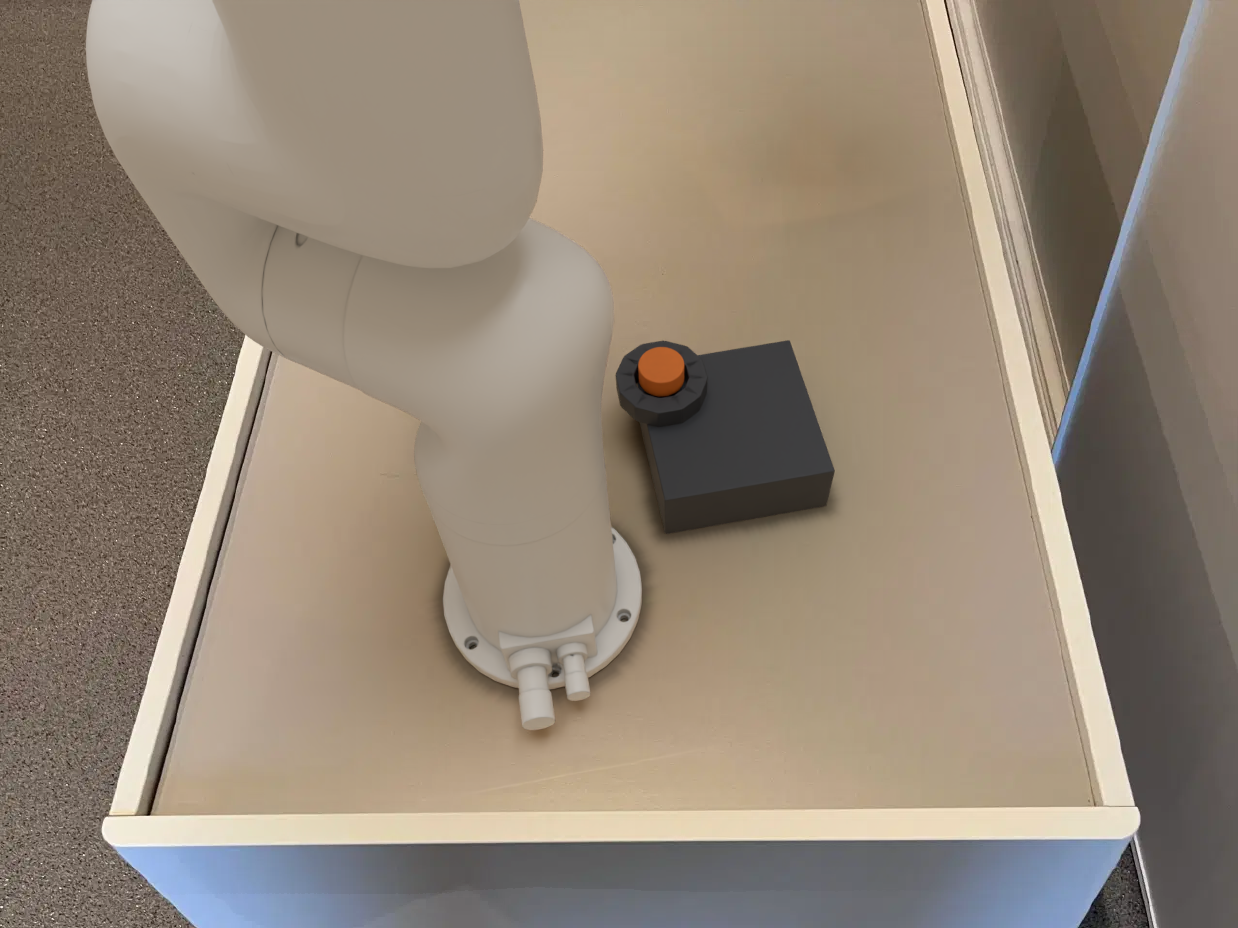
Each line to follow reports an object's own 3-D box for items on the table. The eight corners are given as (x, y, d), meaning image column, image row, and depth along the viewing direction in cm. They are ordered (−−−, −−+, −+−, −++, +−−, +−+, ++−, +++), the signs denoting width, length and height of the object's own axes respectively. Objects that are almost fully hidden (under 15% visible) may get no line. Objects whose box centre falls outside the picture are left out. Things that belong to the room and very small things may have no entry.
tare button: (688, 393, 69) (688, 378, 67) (643, 400, 68) (642, 386, 67) (679, 358, 70) (679, 343, 69) (635, 365, 70) (634, 350, 69)
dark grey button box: (826, 506, 70) (838, 457, 65) (643, 538, 69) (641, 491, 64) (782, 373, 76) (790, 319, 71) (613, 401, 76) (609, 348, 71)
